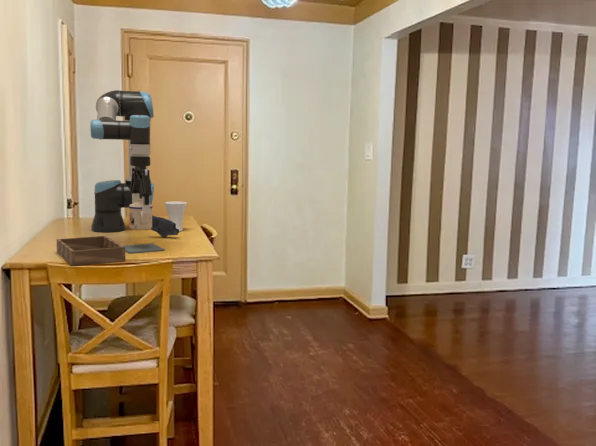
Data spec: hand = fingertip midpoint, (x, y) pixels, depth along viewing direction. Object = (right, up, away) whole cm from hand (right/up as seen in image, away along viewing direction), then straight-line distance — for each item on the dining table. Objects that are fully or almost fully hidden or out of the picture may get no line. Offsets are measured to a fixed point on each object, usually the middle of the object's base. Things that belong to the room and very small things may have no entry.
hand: (140, 211), depth 219 cm
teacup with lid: (0, -7, +1) cm, 7 cm away
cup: (+3, -8, +49) cm, 50 cm away
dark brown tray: (-15, -17, -14) cm, 26 cm away
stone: (+2, -11, +29) cm, 31 cm away
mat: (0, -15, +2) cm, 15 cm away
